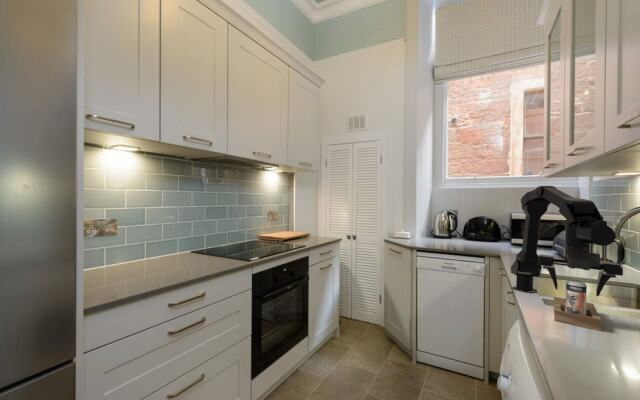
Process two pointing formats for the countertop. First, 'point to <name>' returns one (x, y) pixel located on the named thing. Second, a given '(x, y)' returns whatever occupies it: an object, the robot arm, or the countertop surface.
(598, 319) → the socket board
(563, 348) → the countertop surface
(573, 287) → the beer can
